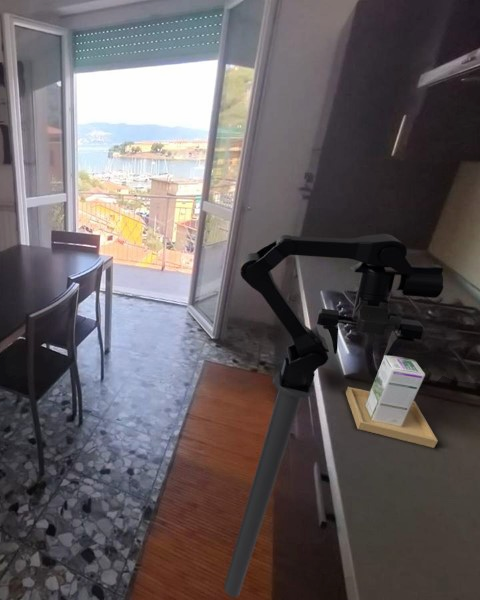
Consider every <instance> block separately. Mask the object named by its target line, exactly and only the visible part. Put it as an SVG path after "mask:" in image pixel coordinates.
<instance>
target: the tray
mask: <svg viewBox="0 0 480 600" xmlns="http://www.w3.org/2000/svg"><path fill="white" fill-rule="evenodd" d="M369 393H370V390H365V389H360V388H356V387H351V386H347V388H346V390H345V395H346V398H347V399H346V400H347V401H348V404H349V408H350V410H351V411H350V412H352V417H353V419H354V423H355V425H356V429H357V430H360V431H364V432H368V433H371V434H372V433H373V434H377V435H381V436H385V437H387V438H388V437H389V438H392V439H395V440H401V441H404V442H409V443H412V444H415V445H416V444H417V445H420V446H425V447H428V448H433V449H435V447H436V445H437V444H438V442H439V441H438V438H437V437H436V435H435V433H434V432H433V430H432V428H431V427H430V425H429V422H428V421H427V419H426V418H425V416H424V415H423V413H422V411H421V410H420V408H419V406H418V404H417V403H416V401H415V400H414V401H413V403H412V405H411V407H410V409H409V412H408V414H407V416H406V418H405V420H404V422H403V424H402V426H401V427H398V426H393V425H389V424H384V423H380V422H376V421H372V420H371V418H370V416H369V413H368V411H367V409H366V407H365V403H366V401H367V398H368V396H369Z"/></svg>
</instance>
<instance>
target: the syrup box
mask: <svg viewBox="0 0 480 600" xmlns="http://www.w3.org/2000/svg"><path fill="white" fill-rule="evenodd" d="M425 377H426V373H425V371H424V370H423V369H422V368H421V367H420V364H418V362H417V361H416V359H412V358H407V357H402V356H395V355H392V356H387V355H385V356H384V355H383V357H382V361H381V364H380V366H379V368H378V370H377V373H376V375H375V378H374V381H373V383H372V386H371V388H370V390H369V391H370V393H369V396H368V398H367V401H366V403H365V407H366V409H367V411H368V413H369V416H370V418H371V420H372V421H376V422H380V423H384V424H389V425H393V426H398V427H401V426H402V424H403V422H404V420H405V418H406V416H407V414H408V412H409V409H410V407H411V405H412V403H413V401H415V398H416V396H417V395H418V392H419V390H420V387H421V386H422V384H423V381H424V379H425Z"/></svg>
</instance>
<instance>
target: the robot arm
mask: <svg viewBox="0 0 480 600" xmlns="http://www.w3.org/2000/svg"><path fill="white" fill-rule="evenodd" d="M407 254H408V249H407V246H406V245H405V244H404V243H403V242H402V241H400V240H399V239H398V238H396V237H395V236H393V235H391V234H388V233H379V234H377V233H376V234H369V235H362V236H358V237H351V238H345V237H344V238H341V237H320V236H319V237H318V236H295V235H294V236H293V235H290V234H282V235H281V236H279V237H278V238H276V239H275V240H274V241H272V242H270V243H269V244H267V245H264V246H263V247H260V249H259V250H257V251H255V252H250V253H248V254H246V255H244V256H243V258H242V259H241V262H240V276H241V278H242V279H243V281H245V283H247V285H249V286H250V287H251V288H252V289H254V290H255V291H256V292H258V293H259V294H260V295H261V297H263V299H264V300H265V301H266V303H267V304H268V306H269V307H270V309H271V310H272V312H273V313H274V314H275V316H276V317H277V318H278V321H280V323H281V324H282V326H283V327H284V328H285V330H286V332H287V333H288V334H289V335H290V337H291V339H292V342H293V343H292V344H290V345H288V346H287V347H286V351H287V357H285V358H284V360H283V365H282V369H281V371H279V372H280V373H279V372H278V373H279V375H280V386H282V387H285V388H289V389H294V390H298V391H303V392H307V393H308V392H309V387H311V385H312V384H313V381H314V378H315V376H316V374H315V372H316V370H318V369H319V368H320V367H322V366H324V365H325V364H326V363H328V360H329V355H328V353H329V352H330V349H329V347H328V345H327V341H326V339H325V337H324V336H322V335H321V333H320V332H319V330H318V327H317V326H315V327H313V328H310V327H308V326H306V324H305V322H303V321H302V318H300V316H299V315H298V313H297V312H296V310H295V309H294V307H293V306H292V305H291V303H290V302H289V300H288V299H287V298H286V296H285V294H284V293H283V292H282V290H281V289H280V288H279V285H277V283H276V281H275V280H274V277H273V274H272V272H271V271H272V270H273V269H275V268H276V267H277V266H278V265H279V264H281V262H282V261H284V260H285V259H286V258H287V257H289V256H299V257H316V258H332V259H333V258H334V259H347V260H348V259H349V260H352V261H353V260H354V261H356V262H358V263H357V264H355V265H353V266H351V267H350V270H351V271H353V272H355V273H358V274H359V273H360V277H359V282H358V287H357V291H356V295H355V301H354V306H353V310H352V315H346V314H345V315H344V314H340V311H339V310H337V309H329V308H320V309H319V310H318V311H317V315H316V316H317V317H316V324H317V325H319V326H322V328H323V329H324V330H327V331H328V333H329V335H330V338H331V343H332V348H333V354H335V355H337V353H338V347H339V346H338V345H339V343H338V342H339V330H340V329H339V324H345V325H351V326H356V331H357V332H358V333H362V334H374V335H376V336H385V335H386V332H387V331H390V332H391V333H390V335H389V338H388V342H387V345H386V347H385V350H384V353H383V357H384V356H385V355H387V356H394V354H395V353H396V352H397V350H398V349H399V348H401V346H403V345H404V344H406V343H414V342H415V340H418V341H423V340H424V339H425V335H426V327H424V325H423V324H422V323H421V322H420V321H419V320H417V319H407V318H403V315H402V313H401V312H391V311H390V312H389V308H388V307H389V304H390V303H389V302H390V298H391V294H392V289H393V290H394V291H397V293H398V295H400V296H404V297H405V296H406V297H418V298H430V299H437V298H438V297H439V296H440V295H441V294H442V292H443V290H444V276H443V272H444V267H442V266H441V265H439V264H427V265H426V264H411V263H410V262H409V261H408V259H407V257H406V256H407ZM386 268H391V269H386Z"/></svg>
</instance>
